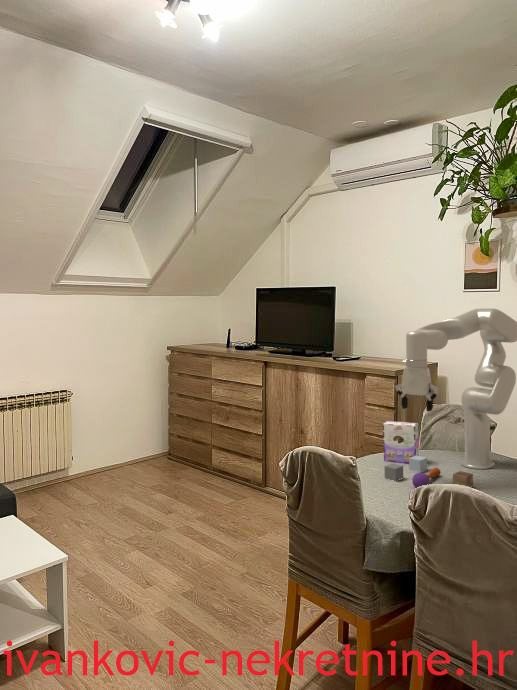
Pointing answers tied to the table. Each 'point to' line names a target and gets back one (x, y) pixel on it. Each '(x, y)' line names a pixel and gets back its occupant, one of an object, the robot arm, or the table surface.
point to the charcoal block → (393, 472)
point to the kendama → (425, 477)
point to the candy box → (400, 441)
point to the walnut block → (463, 478)
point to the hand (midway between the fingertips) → (417, 409)
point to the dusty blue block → (418, 463)
